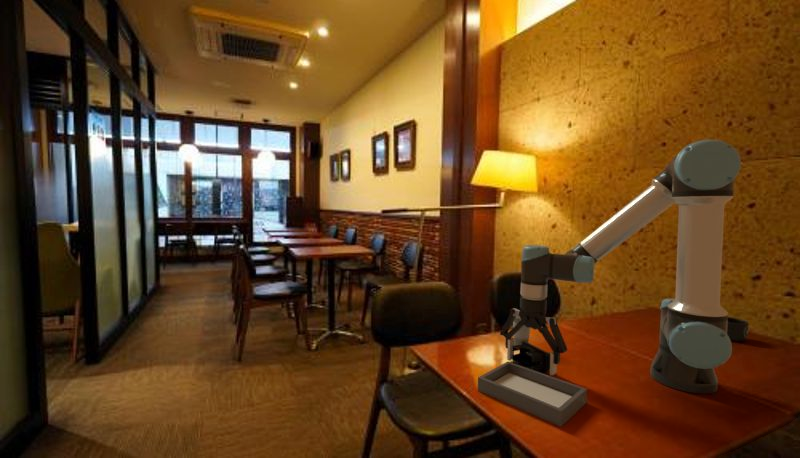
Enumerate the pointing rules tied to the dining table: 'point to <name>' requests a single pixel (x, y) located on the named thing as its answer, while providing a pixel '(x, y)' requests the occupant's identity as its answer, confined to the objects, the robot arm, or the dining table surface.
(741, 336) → the mug
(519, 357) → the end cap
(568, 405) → the shallow grey tray
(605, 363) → the dining table surface
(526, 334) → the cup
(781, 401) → the dining table surface
